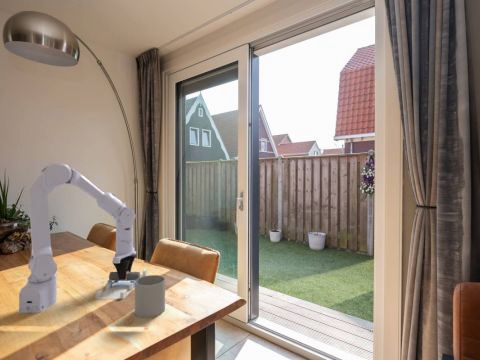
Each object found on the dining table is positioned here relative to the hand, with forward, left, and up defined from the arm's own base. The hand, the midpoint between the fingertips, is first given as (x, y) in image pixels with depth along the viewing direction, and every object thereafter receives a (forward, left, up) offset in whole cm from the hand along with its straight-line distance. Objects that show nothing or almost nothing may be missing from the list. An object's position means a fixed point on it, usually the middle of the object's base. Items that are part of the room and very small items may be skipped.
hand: (124, 277), depth 103 cm
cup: (-20, -15, -4) cm, 26 cm away
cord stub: (0, 0, -1) cm, 1 cm away
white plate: (0, 0, -4) cm, 4 cm away
